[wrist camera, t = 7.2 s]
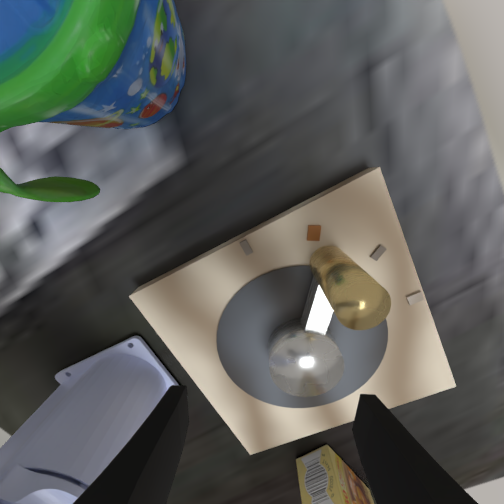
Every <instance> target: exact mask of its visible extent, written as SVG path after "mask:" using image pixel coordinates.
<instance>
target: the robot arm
mask: <svg viewBox="0 0 504 504" xmlns="http://www.w3.org/2000/svg"><path fill="white" fill-rule="evenodd" d="M130 343H132V344H133V345H132V344H130ZM55 379H56V380H57V381H58V382H59V383H60V384H61V385H60V386H59V387H58V388H57V389H56V390H55V391H54V392H53V393H52V394H51V395H50V396H49V398H48V399H47V400H46V401H45V402H44V403H43V404H42V405H41V406H40V407H39V408H38V409H37V410H36V411H35V412H34V413H33V414H32V415H31V416H30V418H29V419H28V420H27V421H26V422H25V423H24V424H23V425H22V426H21V427H20V428H19V429H18V430H17V431H16V432H15V433H14V434H13V435H12V436H11V438H10V439H9V440H8V441H7V442H6V443H5V444H4V445H3V446H2V447H1V448H0V504H166V502H167V498H168V495H169V492H170V489H171V486H172V483H173V480H174V477H175V473H176V470H177V467H178V464H179V461H180V457H181V454H182V451H183V446H184V442H185V438H186V433H187V428H188V424H189V416H188V402H187V387H186V386H179V384H178V383H177V382H176V381H175V379H174V378H173V377H172V376H171V374H170V373H169V372H168V371H167V369H166V368H165V367H164V365H163V364H162V363H161V362H160V360H159V359H158V358H157V357H156V355H155V354H154V353H153V352H152V350H151V349H150V348H149V347H148V345H147V344H146V343H145V342H144V340H143V339H142V338H141V337H140V336H133V337H131V338H129V339H127V340H124V341H122V342H120V343H118V344H116V345H114V346H112V347H110V348H108V349H106V350H103V351H101V352H99V353H97V354H95V355H93V356H91V357H89V358H87V359H85V360H82V361H80V362H78V363H76V364H74V365H72V366H70V367H68V368H66V369H64V370H61V371H59V372H58V373H57V374H56V375H55ZM352 431H353V435H354V438H355V442H356V446H357V449H358V453H359V456H360V460H361V463H362V466H363V468H364V471H365V474H366V476H367V479H368V482H369V484H370V487H371V490H372V492H373V495H374V497H375V500H376V503H377V504H478V503H477V502H476V501H475V500H474V499H473V498H472V497H471V496H470V495H469V494H468V493H466V492H465V490H464V489H463V488H462V487H461V486H460V485H459V484H458V483H457V482H456V481H455V480H454V479H453V478H452V477H451V476H450V475H449V474H448V473H447V472H446V471H445V470H444V469H443V468H442V467H441V466H440V465H439V464H438V463H437V462H436V461H435V460H434V459H433V458H432V457H431V456H430V455H429V453H428V452H427V451H426V450H425V449H424V448H423V447H422V446H421V445H420V444H419V443H418V442H417V441H416V440H415V438H414V437H413V436H412V435H411V434H410V433H409V432H408V431H407V430H406V428H405V427H404V426H403V425H402V424H401V423H400V422H399V421H398V420H397V418H396V417H395V416H394V415H393V414H392V413H391V412H390V410H389V409H388V408H387V407H386V406H385V405H384V404H383V403H382V401H381V400H380V399H379V398H378V397H377V396H376V395H375V394H360V397H359V402H358V406H357V410H356V415H355V419H354V424H353V428H352Z"/></svg>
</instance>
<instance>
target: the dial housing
mask: <svg viewBox="0 0 504 504" xmlns="http://www.w3.org/2000/svg"><path fill="white" fill-rule="evenodd" d="M327 245H331V246H336V247H338V248H340V249H341V250H342V251H343V252H344V253H346V254H347V255H348V256H349V257H350V258H351V259H352V260H353V261H354V262H356V263H357V264H358V265H359V266H360V267H361V268H362V269H363V270H365V271H366V272H367V273H368V274H369V275H370V276H371V277H372V278H374V279H375V280H376V281H377V282H378V283H379V284H380V285H381V286H382V287H384V288H385V289H386V290H387V292H388V293H389V295H390V298H391V309H390V312H389V314H388V316H387V317H386V318H385V319H384V321H382V322H381V323H380V324H379V325H377V326H375V327H373V328H370V329H367V330H353V329H349V328H347V327H345V326H344V325H342V324H341V323H340V321H339V320H338V318H337V317H336V315H335V313H334V311H333V314H332V317H331V320H330V323H329V325H328V329H329V330H330V331H331V333H332V335H333V337H334V339H335V341H336V344H337V346H338V348H339V350H340V352H341V354H342V357H343V359H344V373H343V376H342V378H341V379H340V381H339V382H338V383H337V385H336V386H334V387H333V388H332V389H331V390H329V391H327V392H325V393H323V394H320V395H317V396H312V397H299V396H294V395H291V394H288V393H286V392H284V391H282V390H281V389H280V388H278V387H277V386H276V384H275V383H274V382H273V380H272V378H271V375H270V369H269V350H268V343H269V339H270V336H271V334H272V333H273V331H274V330H275V329H276V328H277V327H278V326H279V325H281V324H282V323H284V322H286V321H288V320H291V319H296V318H301V317H302V314H303V310H304V307H305V304H306V300H307V297H308V293H309V290H310V286H311V283H312V280H313V276H314V275H313V273H312V271H311V269H310V264H309V263H310V258H311V256H312V254H313V253H314V252H315V251H316V250H317V249H319V248H320V247H323V246H327ZM129 297H130V298H131V300H132V301H133V302H134V304H135V305H136V306H137V308H138V309H139V310H140V311H141V313H142V314H143V315H144V317H145V318H146V319H147V321H148V322H149V323H150V325H151V326H152V327H153V328H154V330H155V331H156V332H157V334H158V335H159V336H160V338H161V339H162V340H163V341H164V343H165V344H166V345H167V347H168V348H169V349H170V351H171V352H172V353H173V355H174V356H175V357H176V358H177V360H178V361H179V362H180V364H181V365H182V366H183V368H184V369H185V370H186V372H187V373H188V374H189V375H190V377H191V378H192V379H193V381H194V382H195V383H196V385H197V386H198V387H199V388H200V390H201V391H202V392H203V394H204V395H205V396H206V398H207V399H208V400H209V402H210V403H211V404H212V405H213V407H214V408H215V409H216V411H217V412H218V413H219V415H220V416H221V417H222V418H223V420H224V421H225V422H226V424H227V425H228V426H229V428H230V429H231V430H232V432H233V433H234V434H235V435H236V437H237V438H238V439H239V441H240V442H241V443H242V445H243V446H244V447H245V449H246V450H247V451H248V452H249V454H250V455H252V454H255V453H258V452H261V451H264V450H267V449H270V448H273V447H276V446H279V445H282V444H285V443H288V442H291V441H294V440H297V439H300V438H303V437H306V436H309V435H312V434H315V433H318V432H321V431H324V430H327V429H330V428H333V427H336V426H339V425H342V424H345V423H348V422H351V421H354V419H355V415H356V410H357V406H358V402H359V397H360V394H375V395H376V396H377V397H378V398H379V399H380V400H381V401H382V403H383V404H384V405H385V406H386V407H387V408H388V409H390V408H393V407H396V406H399V405H402V404H405V403H408V402H411V401H414V400H417V399H420V398H423V397H426V396H429V395H432V394H435V393H438V392H441V391H444V390H447V389H450V388H453V387H456V384H455V381H454V378H453V375H452V373H451V370H450V367H449V364H448V361H447V358H446V355H445V353H444V350H443V347H442V344H441V341H440V338H439V335H438V333H437V330H436V327H435V324H434V321H433V318H432V315H431V312H430V310H429V307H428V304H427V301H426V298H425V295H424V292H423V290H422V287H421V284H420V281H419V278H418V275H417V272H416V270H415V267H414V264H413V261H412V258H411V255H410V252H409V250H408V247H407V244H406V241H405V238H404V235H403V232H402V230H401V227H400V224H399V221H398V218H397V215H396V212H395V210H394V207H393V204H392V201H391V198H390V195H389V192H388V189H387V187H386V184H385V181H384V178H383V175H382V172H381V169H380V167H374V168H367V169H365V170H364V171H362V172H360V173H358V174H356V175H354V176H352V177H350V178H348V179H346V180H344V181H342V182H340V183H338V184H337V185H335V186H333V187H331V188H329V189H327V190H325V191H323V192H321V193H319V194H317V195H315V196H313V197H311V198H310V199H308V200H306V201H304V202H302V203H300V204H298V205H296V206H294V207H292V208H290V209H288V210H286V211H284V212H283V213H281V214H279V215H277V216H275V217H273V218H271V219H269V220H267V221H265V222H263V223H261V224H259V225H257V226H256V227H254V228H252V229H250V230H248V231H246V232H244V233H242V234H240V235H238V236H236V237H234V238H232V239H230V240H229V241H227V242H225V243H223V244H221V245H219V246H217V247H215V248H213V249H211V250H209V251H207V252H205V253H203V254H201V255H200V256H198V257H196V258H194V259H192V260H190V261H188V262H186V263H184V264H182V265H180V266H178V267H176V268H174V269H173V270H171V271H169V272H167V273H165V274H163V275H161V276H159V277H157V278H155V279H153V280H151V281H149V282H147V283H146V284H144V285H142V286H140V287H138V288H137V289H136V290H135V291H134V292H133V293H132V294H131V295H130V296H129Z"/></svg>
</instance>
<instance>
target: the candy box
mask: <svg viewBox="0 0 504 504" xmlns="http://www.w3.org/2000/svg"><path fill="white" fill-rule="evenodd" d="M296 465H297V471H298V479H299V485H300V493H301V500H302V504H374V501H373V499H372V496H371V493H370V490H369V488H367V487H366V485H365V484H364V483H363V482H362V481H361V480H360V479H359V478H358V477H357V476H356V475H355V474H354V472H353V471H352V470H351V469H350V468H349V467H348V466H347V465H346V464H345V463H344V462H343V461H342V460H341V458H340V457H339V456H338V455H337V454H336V453H335V452H334V451H333V450H332V449H331V448H330V447H329V446H328V445H324V446H322V447H320V448H318V449H316V450H314V451H312V452H310V453H308V454H306V455H304V456H302V457H300V458H297V459H296Z"/></svg>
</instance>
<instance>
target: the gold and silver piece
mask: <svg viewBox="0 0 504 504" xmlns="http://www.w3.org/2000/svg"><path fill="white" fill-rule="evenodd" d="M309 264H310V269H311V271H312V273H313V275H314V276H313V280H312V283H311V286H310V290H309V293H308V297H307V300H306V304H305V307H304V310H303V314H302V317H301V318H296V319H291V320H288V321H286V322H284V323H282V324H281V325H279V326H278V327H277V328H276V329H275V330H274V331H273V333H272V334H271V336H270V339H269V343H268V350H269V369H270V375H271V378H272V380H273V382H274V383H275V384H276V386H277V387H278V388H280V389H281V390H282V391H284V392H286V393H288V394H291V395H294V396H299V397H312V396H317V395H320V394H323V393H325V392H327V391H329V390H331V389H332V388H333V387H334V386H336V385H337V383H338V382H339V381H340V379H341V378H342V376H343V373H344V359H343V357H342V354H341V352H340V350H339V348H338V346H337V344H336V341H335V339H334V337H333V335H332V333H331V331H330V330H329V329H328V325H329V323H330V320H331V317H332V314H333V311H334V313H335V315H336V317H337V318H338V320H339V321H340V323H341V324H342V325H344V326H345V327H347V328H349V329H353V330H367V329H370V328H373V327H375V326H377V325H379V324H380V323H381V322H382V321H384V319H385V318H386V317H387V316H388V314H389V312H390V309H391V298H390V295H389V293H388V292H387V290H386V289H385V288H384V287H382V286H381V285H380V284H379V283H378V282H377V281H376V280H375V279H374V278H372V277H371V276H370V275H369V274H368V273H367V272H366V271H365V270H363V269H362V268H361V267H360V266H359V265H358V264H357V263H356V262H354V261H353V260H352V259H351V258H350V257H349V256H348V255H347V254H346V253H344V252H343V251H342V250H341V249H340V248H338V247H336V246H331V245H327V246H323V247H320V248H319V249H317V250H316V251H315V252H314V253H313V254H312V256H311V258H310V263H309Z"/></svg>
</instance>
